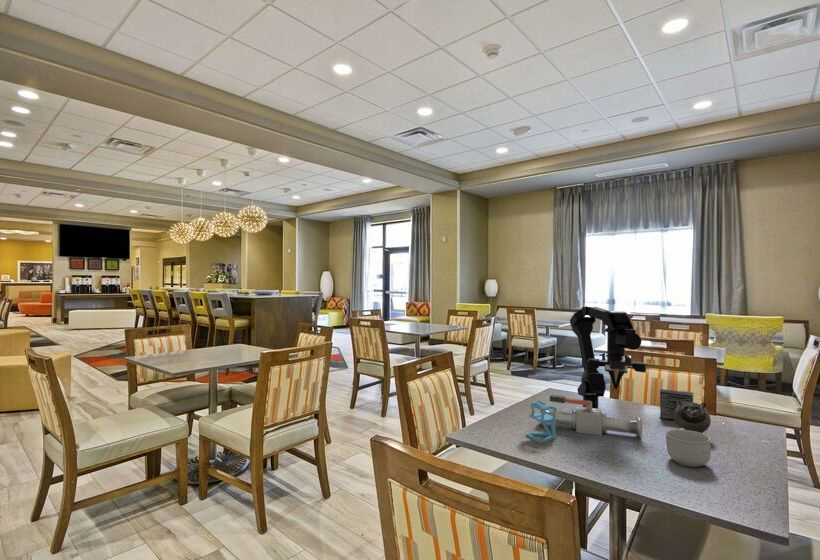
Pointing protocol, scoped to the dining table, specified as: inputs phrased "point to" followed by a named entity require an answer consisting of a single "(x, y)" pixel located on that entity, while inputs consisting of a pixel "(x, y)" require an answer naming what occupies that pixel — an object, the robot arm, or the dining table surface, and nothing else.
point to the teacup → (688, 447)
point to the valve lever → (571, 401)
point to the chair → (543, 421)
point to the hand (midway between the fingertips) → (615, 388)
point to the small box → (672, 402)
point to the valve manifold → (596, 422)
